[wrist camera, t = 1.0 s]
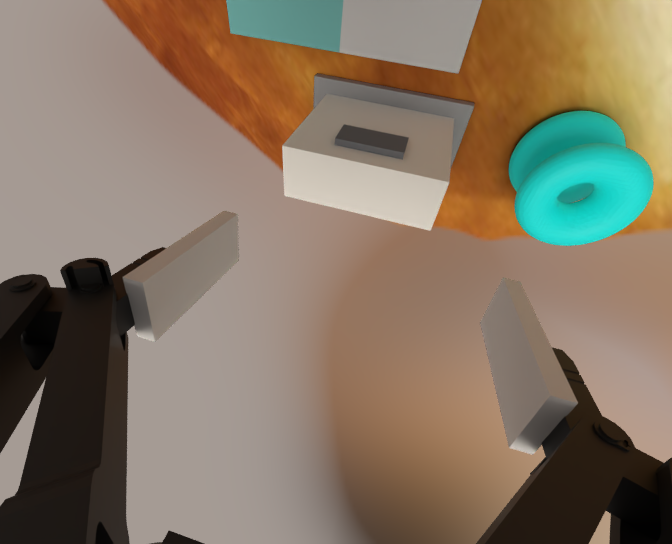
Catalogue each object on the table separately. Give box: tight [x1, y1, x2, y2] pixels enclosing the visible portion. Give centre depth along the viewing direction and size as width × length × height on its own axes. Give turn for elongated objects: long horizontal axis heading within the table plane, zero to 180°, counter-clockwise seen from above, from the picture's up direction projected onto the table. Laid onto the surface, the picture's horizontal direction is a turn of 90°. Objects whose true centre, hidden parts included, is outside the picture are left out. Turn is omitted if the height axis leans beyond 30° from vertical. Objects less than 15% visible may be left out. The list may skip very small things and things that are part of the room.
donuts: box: [509, 111, 653, 246], centre depth 32 cm, size 10×10×10 cm
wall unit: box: [282, 73, 474, 231], centre depth 33 cm, size 8×17×14 cm, turn 85°
